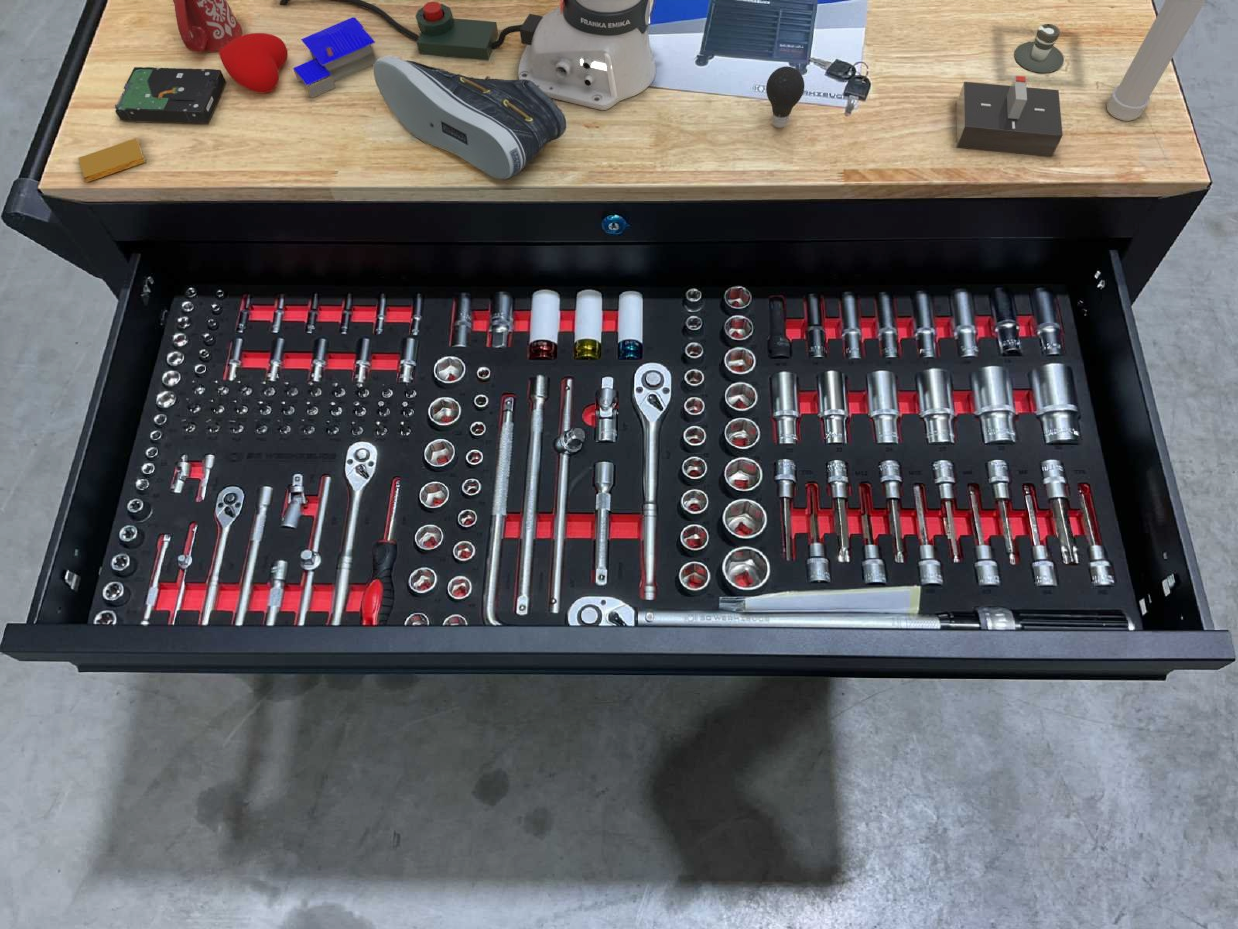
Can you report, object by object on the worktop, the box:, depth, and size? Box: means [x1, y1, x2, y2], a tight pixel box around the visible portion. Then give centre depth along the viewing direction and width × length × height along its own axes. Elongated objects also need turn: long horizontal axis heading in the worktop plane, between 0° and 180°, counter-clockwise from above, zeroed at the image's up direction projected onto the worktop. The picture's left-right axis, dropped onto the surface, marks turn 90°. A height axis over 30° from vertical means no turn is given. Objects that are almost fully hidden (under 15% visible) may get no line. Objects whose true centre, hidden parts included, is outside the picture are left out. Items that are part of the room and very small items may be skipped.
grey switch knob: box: [1007, 75, 1027, 119], centre depth 132 cm, size 5×2×4 cm, turn 170°
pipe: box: [1106, 0, 1207, 122], centre depth 126 cm, size 6×6×30 cm
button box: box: [415, 3, 499, 61], centre depth 149 cm, size 13×8×4 cm, turn 80°
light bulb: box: [765, 65, 805, 129], centre depth 135 cm, size 6×6×10 cm
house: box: [292, 16, 377, 99], centre depth 147 cm, size 11×14×6 cm
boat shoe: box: [372, 55, 567, 180], centre depth 137 cm, size 11×30×14 cm
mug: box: [172, 0, 243, 53], centre depth 147 cm, size 13×9×14 cm
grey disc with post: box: [1014, 23, 1065, 74], centre depth 143 cm, size 12×12×5 cm
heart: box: [218, 32, 289, 94], centre depth 146 cm, size 12×5×10 cm
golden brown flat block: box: [77, 137, 146, 183], centre depth 139 cm, size 9×1×5 cm
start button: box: [422, 0, 443, 21], centre depth 148 cm, size 3×3×2 cm
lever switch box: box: [955, 81, 1063, 158], centre depth 136 cm, size 14×10×4 cm
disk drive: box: [114, 66, 227, 125], centre depth 145 cm, size 10×3×15 cm
